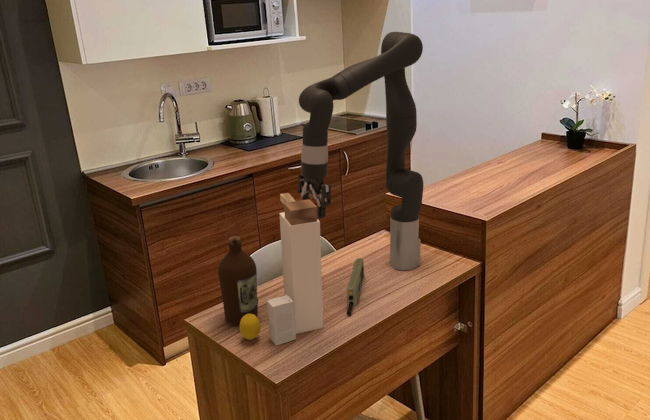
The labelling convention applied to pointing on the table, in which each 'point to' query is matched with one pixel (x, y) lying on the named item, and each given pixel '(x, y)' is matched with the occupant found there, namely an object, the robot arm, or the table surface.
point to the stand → (303, 272)
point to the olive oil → (238, 283)
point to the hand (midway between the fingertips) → (313, 213)
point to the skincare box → (281, 319)
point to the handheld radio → (355, 284)
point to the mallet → (298, 210)
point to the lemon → (249, 326)
